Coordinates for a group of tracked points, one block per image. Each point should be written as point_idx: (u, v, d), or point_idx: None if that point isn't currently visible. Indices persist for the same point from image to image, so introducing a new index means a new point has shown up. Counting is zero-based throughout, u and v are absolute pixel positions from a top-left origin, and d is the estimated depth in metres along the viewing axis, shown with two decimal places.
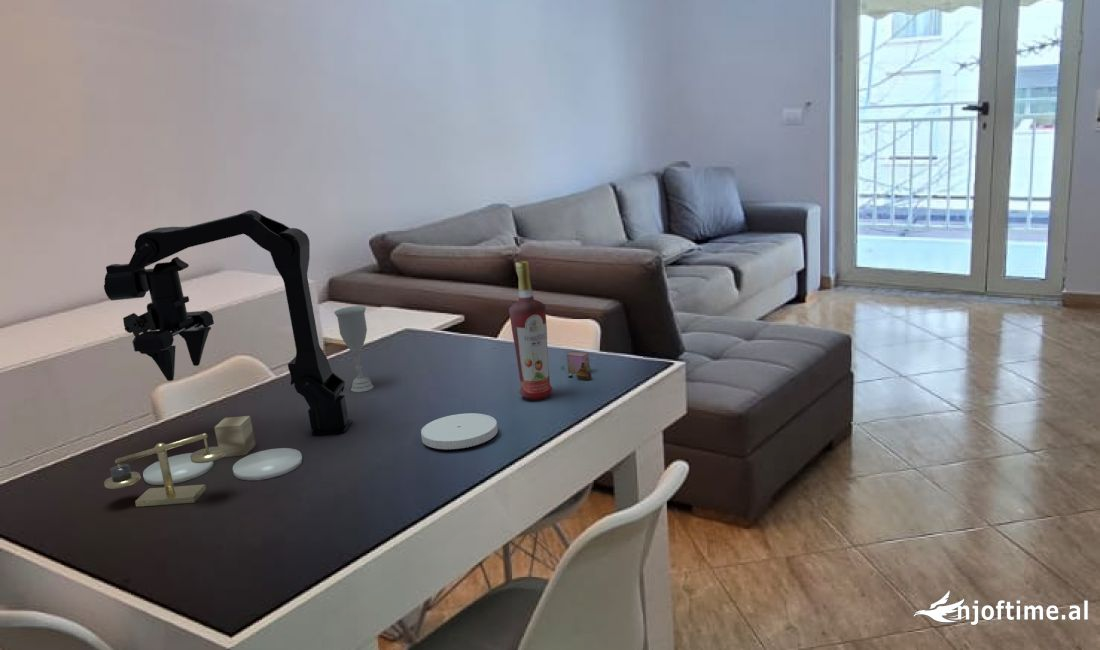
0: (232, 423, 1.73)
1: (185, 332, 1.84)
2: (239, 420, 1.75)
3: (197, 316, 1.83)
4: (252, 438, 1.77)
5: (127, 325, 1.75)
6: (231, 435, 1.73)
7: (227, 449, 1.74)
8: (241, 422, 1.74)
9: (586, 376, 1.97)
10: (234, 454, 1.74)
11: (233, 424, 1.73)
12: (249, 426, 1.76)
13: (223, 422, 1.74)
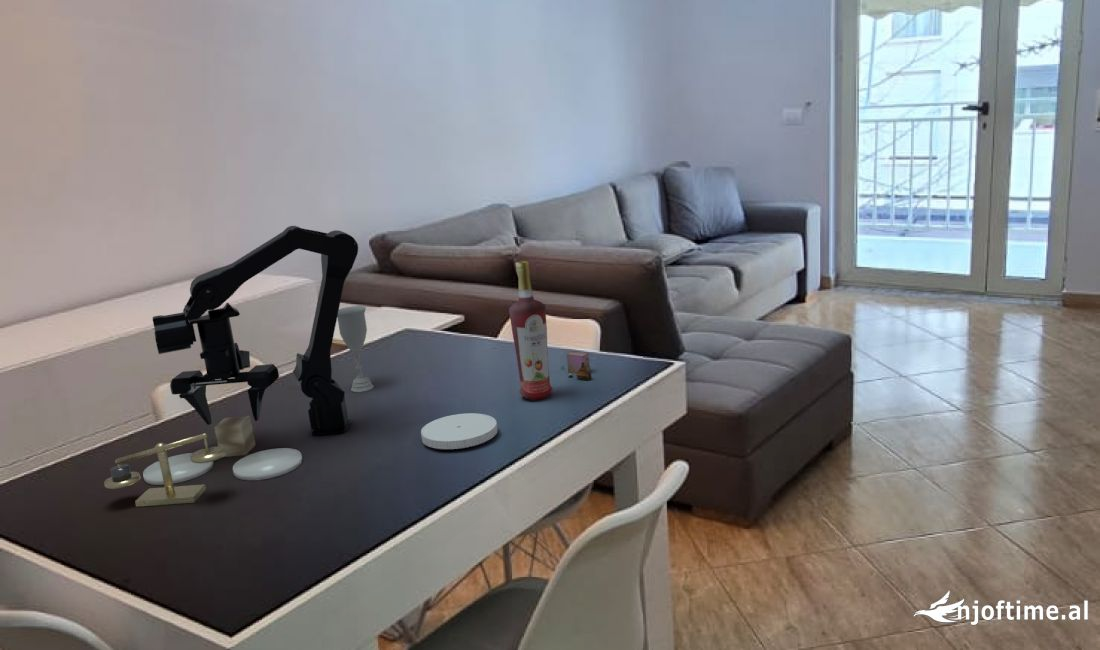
0: (232, 423, 1.73)
1: None
2: (239, 420, 1.75)
3: None
4: (252, 438, 1.77)
5: None
6: (231, 435, 1.73)
7: (227, 449, 1.74)
8: (241, 422, 1.74)
9: (586, 376, 1.96)
10: (234, 454, 1.74)
11: (233, 424, 1.73)
12: (249, 426, 1.76)
13: (223, 422, 1.74)
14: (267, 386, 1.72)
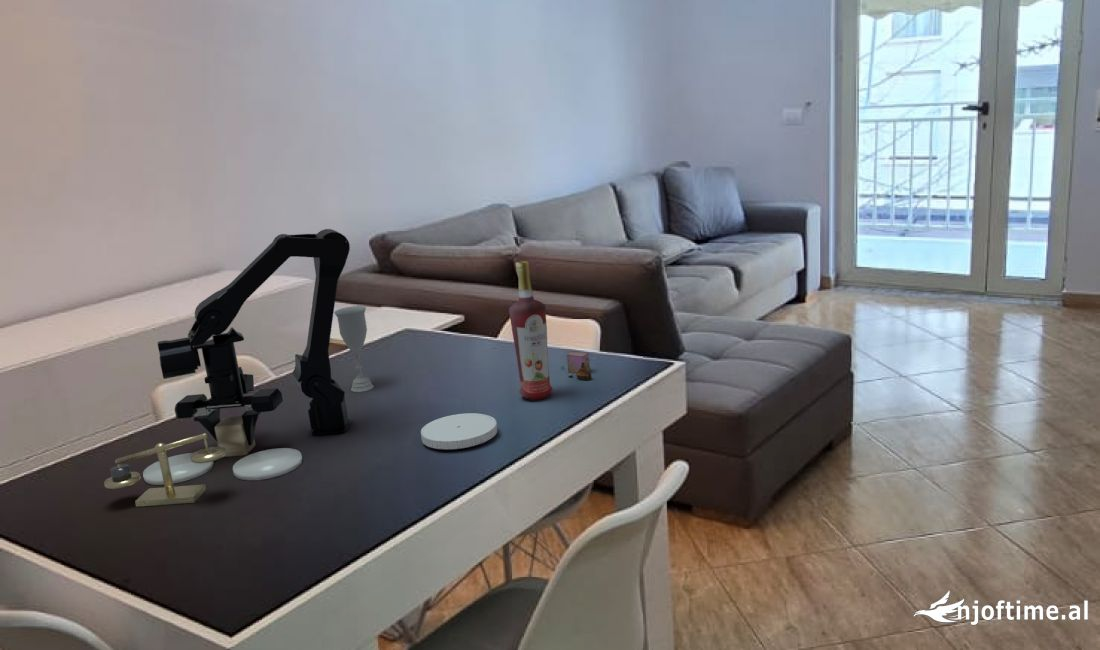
0: (232, 423, 1.73)
1: None
2: (239, 419, 1.75)
3: None
4: None
5: None
6: (231, 435, 1.73)
7: (227, 449, 1.74)
8: (241, 422, 1.74)
9: (586, 376, 1.96)
10: (234, 454, 1.74)
11: (233, 424, 1.73)
12: None
13: (223, 422, 1.74)
14: None
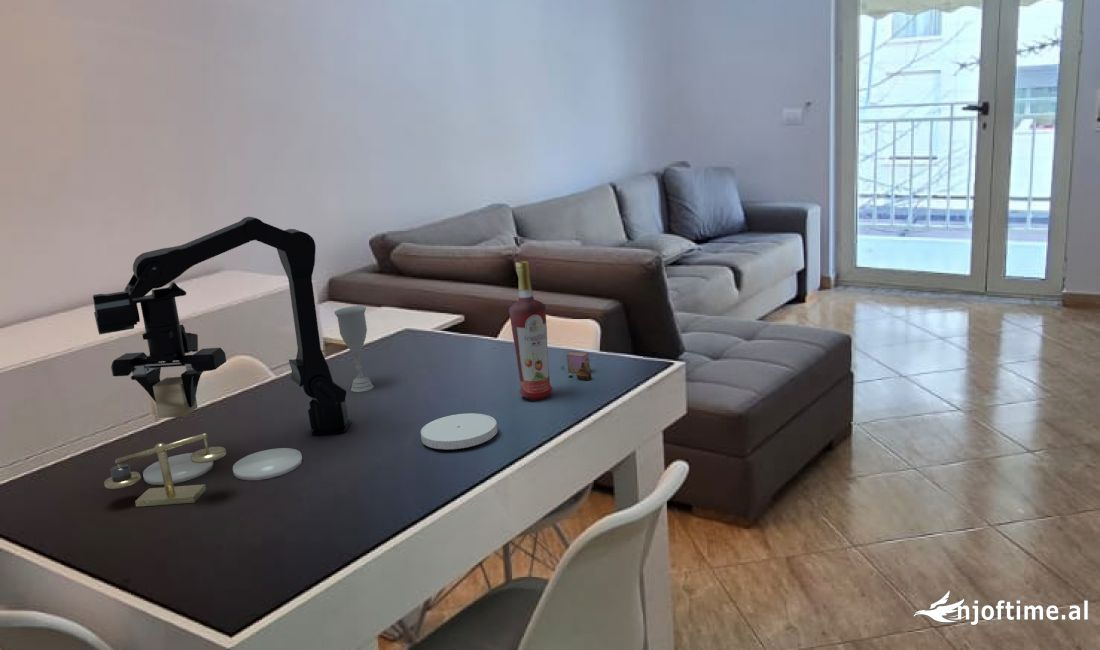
0: (172, 383, 1.65)
1: None
2: (180, 380, 1.67)
3: None
4: None
5: None
6: (170, 395, 1.64)
7: (165, 410, 1.65)
8: (181, 382, 1.65)
9: (586, 376, 1.96)
10: (173, 415, 1.65)
11: (173, 383, 1.65)
12: None
13: (163, 382, 1.66)
14: (202, 371, 1.65)
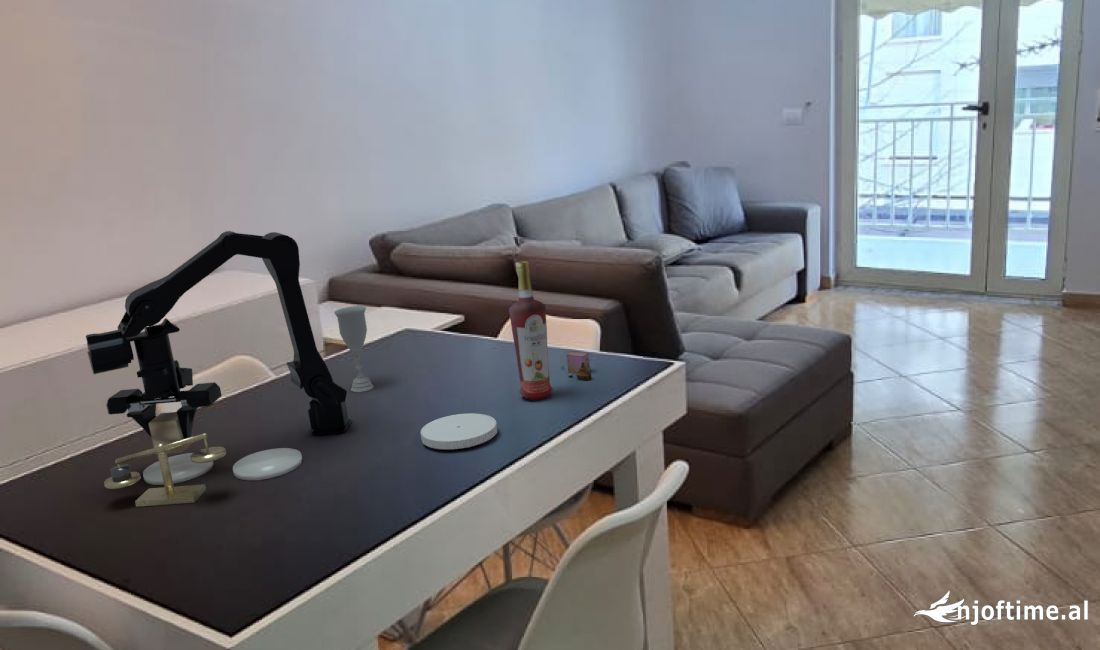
0: (167, 419, 1.65)
1: None
2: (175, 415, 1.67)
3: None
4: None
5: None
6: (166, 431, 1.65)
7: None
8: (177, 417, 1.65)
9: (586, 376, 1.96)
10: (170, 451, 1.65)
11: (168, 419, 1.65)
12: None
13: (158, 418, 1.66)
14: (197, 406, 1.65)
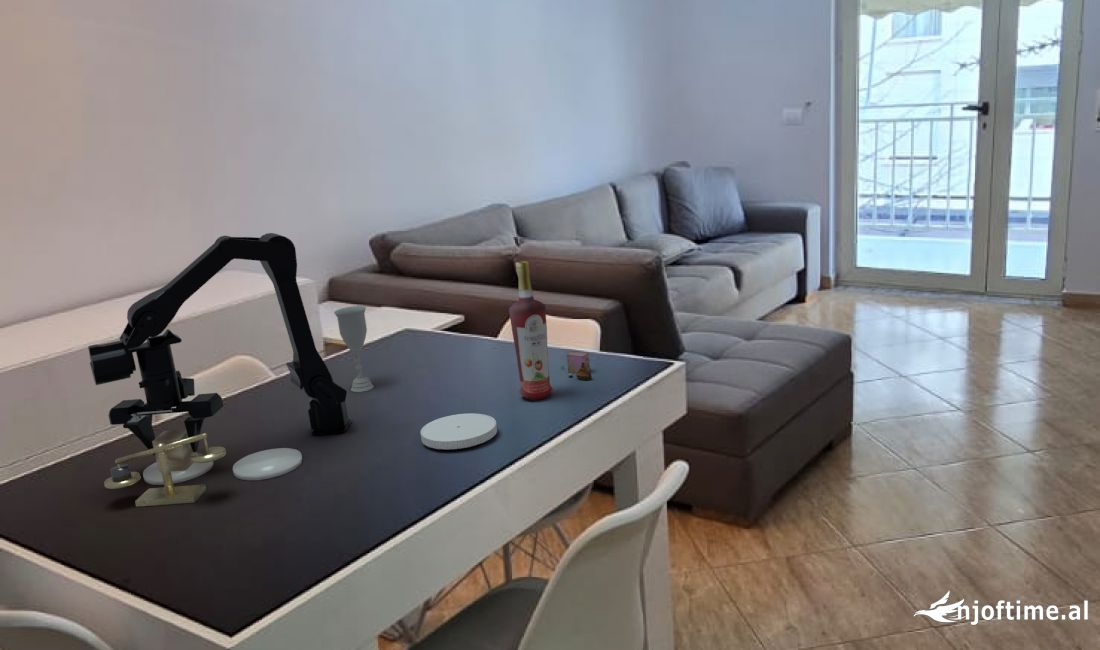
0: (171, 437, 1.66)
1: None
2: (179, 433, 1.68)
3: None
4: (193, 452, 1.70)
5: None
6: (170, 449, 1.65)
7: None
8: (180, 436, 1.66)
9: (586, 376, 1.96)
10: (173, 469, 1.66)
11: (172, 438, 1.66)
12: None
13: (162, 436, 1.67)
14: None
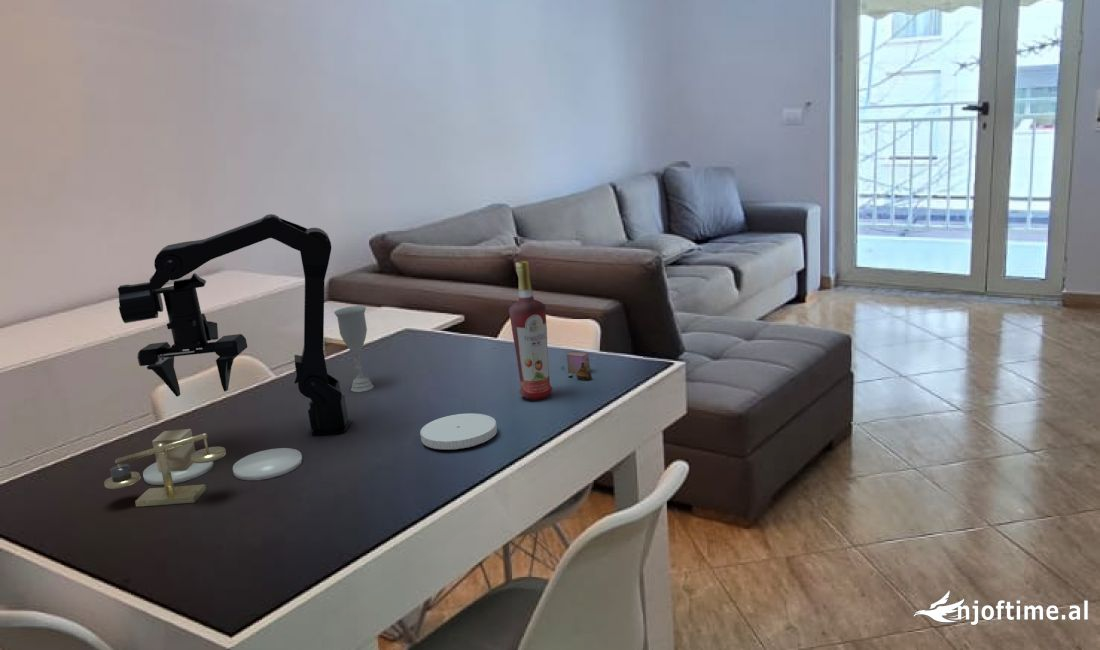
0: (171, 437, 1.66)
1: None
2: (179, 433, 1.68)
3: None
4: (193, 452, 1.70)
5: None
6: (170, 449, 1.65)
7: None
8: (180, 436, 1.66)
9: (586, 376, 1.96)
10: (173, 469, 1.66)
11: (172, 438, 1.66)
12: None
13: (162, 436, 1.67)
14: (235, 356, 1.72)
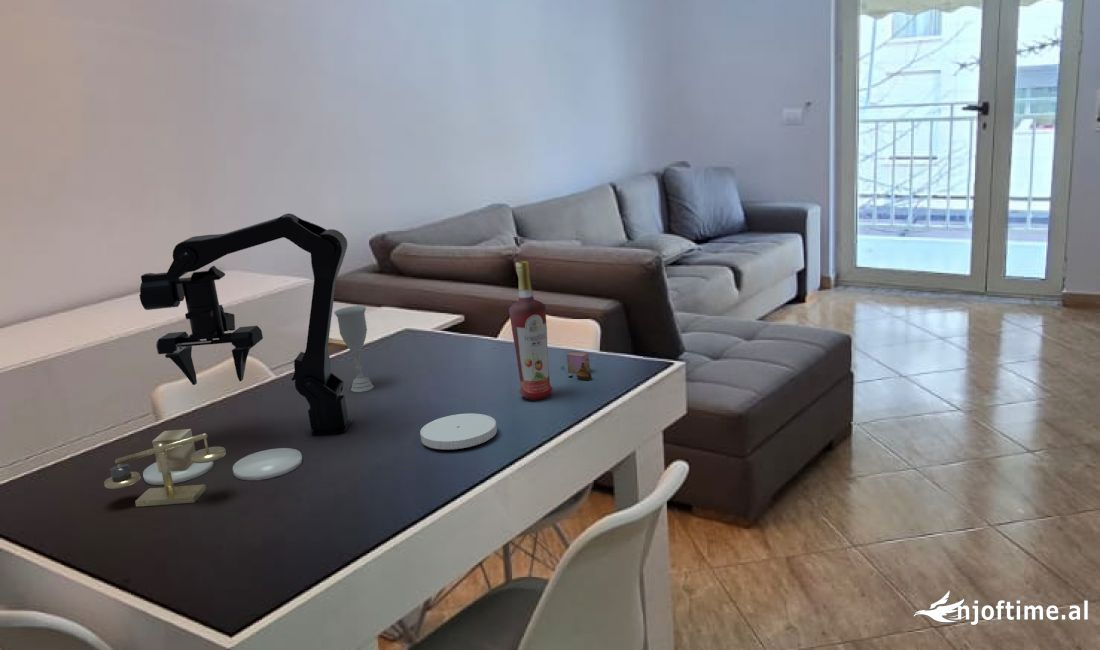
0: (171, 437, 1.66)
1: None
2: (179, 433, 1.68)
3: None
4: (193, 452, 1.70)
5: None
6: (170, 449, 1.65)
7: None
8: (180, 436, 1.66)
9: (586, 376, 1.96)
10: (173, 469, 1.66)
11: (172, 438, 1.66)
12: None
13: (162, 436, 1.67)
14: (251, 347, 1.76)
